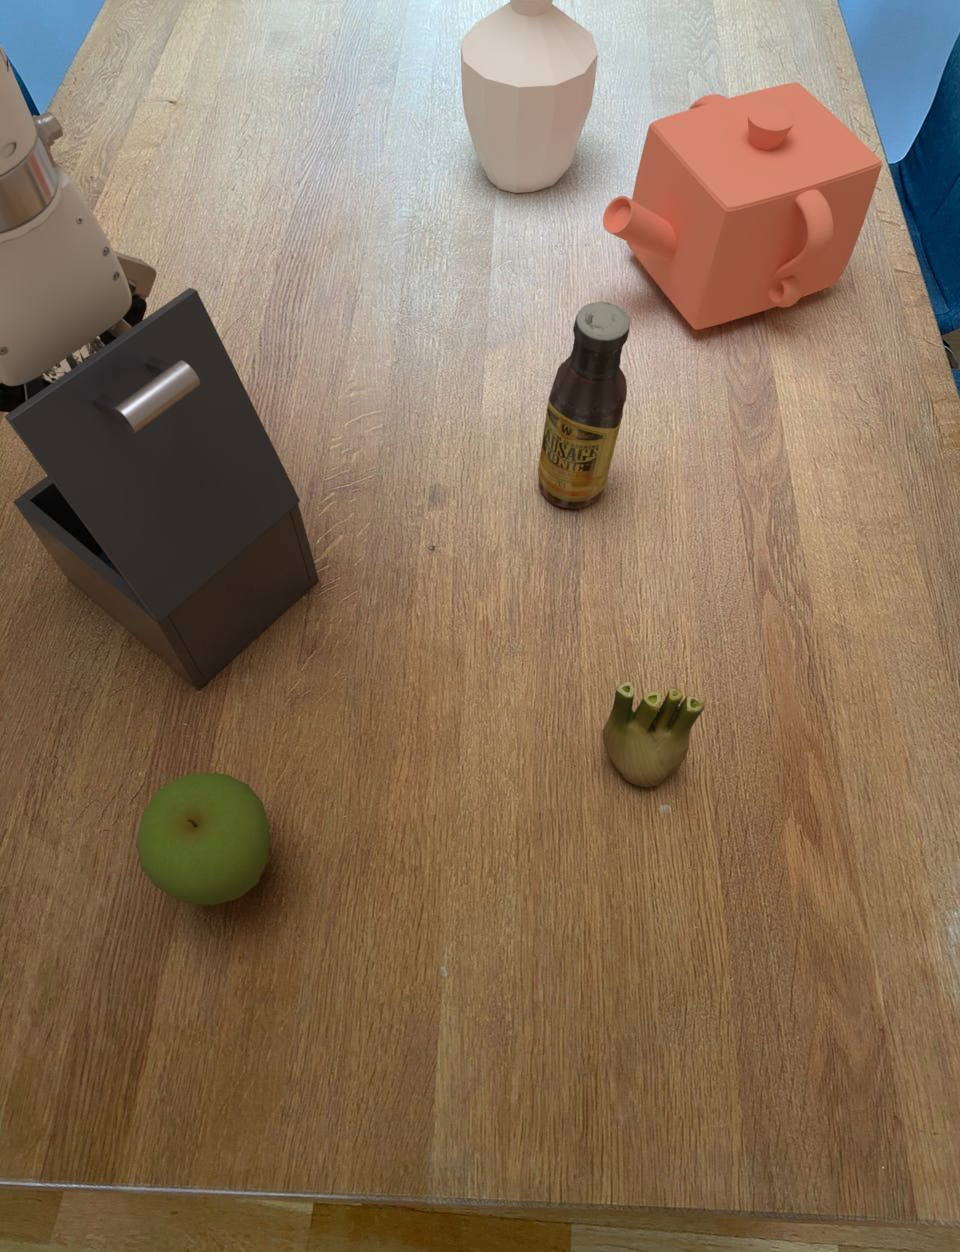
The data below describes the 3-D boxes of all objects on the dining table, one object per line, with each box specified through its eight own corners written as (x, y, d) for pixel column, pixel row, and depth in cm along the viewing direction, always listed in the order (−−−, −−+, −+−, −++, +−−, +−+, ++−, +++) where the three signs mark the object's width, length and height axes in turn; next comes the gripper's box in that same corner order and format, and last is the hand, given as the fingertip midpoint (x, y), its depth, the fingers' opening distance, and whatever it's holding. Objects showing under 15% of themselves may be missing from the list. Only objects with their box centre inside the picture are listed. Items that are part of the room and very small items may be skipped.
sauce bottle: (523, 493, 86) (535, 323, 68) (560, 449, 88) (581, 275, 71) (585, 526, 84) (613, 361, 67) (620, 481, 86) (656, 310, 69)
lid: (3, 416, 53) (46, 441, 50) (189, 287, 58) (238, 303, 55) (153, 618, 66) (194, 647, 63) (294, 497, 71) (338, 519, 68)
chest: (67, 578, 81) (12, 501, 71) (188, 481, 86) (153, 397, 77) (198, 691, 76) (158, 623, 66) (319, 580, 81) (298, 503, 71)
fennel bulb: (589, 759, 73) (608, 692, 62) (627, 715, 75) (651, 642, 64) (651, 806, 71) (680, 745, 60) (688, 760, 73) (723, 692, 62)
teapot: (646, 393, 92) (681, 236, 76) (544, 252, 102) (557, 88, 86) (859, 320, 97) (931, 159, 81) (741, 192, 107) (786, 28, 92)
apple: (301, 905, 67) (271, 860, 57) (184, 946, 66) (132, 907, 56) (273, 796, 71) (240, 735, 61) (162, 832, 70) (109, 776, 60)
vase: (556, 125, 113) (574, -121, 92) (604, 196, 107) (636, -51, 85) (444, 150, 111) (436, -96, 89) (487, 224, 104) (489, -23, 83)
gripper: (65, 79, 54) (157, 322, 70) (-209, 229, 48) (-40, 460, 63) (151, 129, 52) (226, 369, 68) (-126, 295, 45) (29, 518, 61)
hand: (97, 412), depth 65 cm, fingers closed on wineglass, 5 cm apart
